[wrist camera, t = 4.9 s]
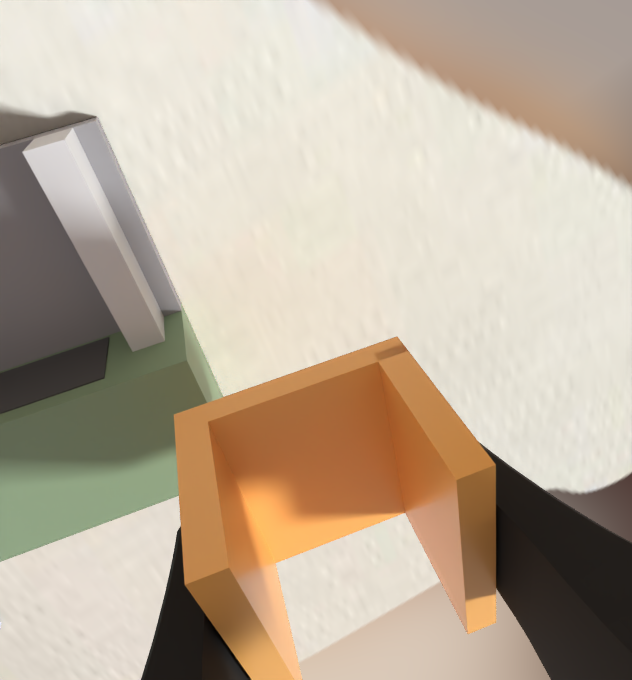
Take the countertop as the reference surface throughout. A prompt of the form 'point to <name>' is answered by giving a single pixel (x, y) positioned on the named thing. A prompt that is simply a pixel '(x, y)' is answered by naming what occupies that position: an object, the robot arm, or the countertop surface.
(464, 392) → the countertop surface
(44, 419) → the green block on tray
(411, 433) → the chute
